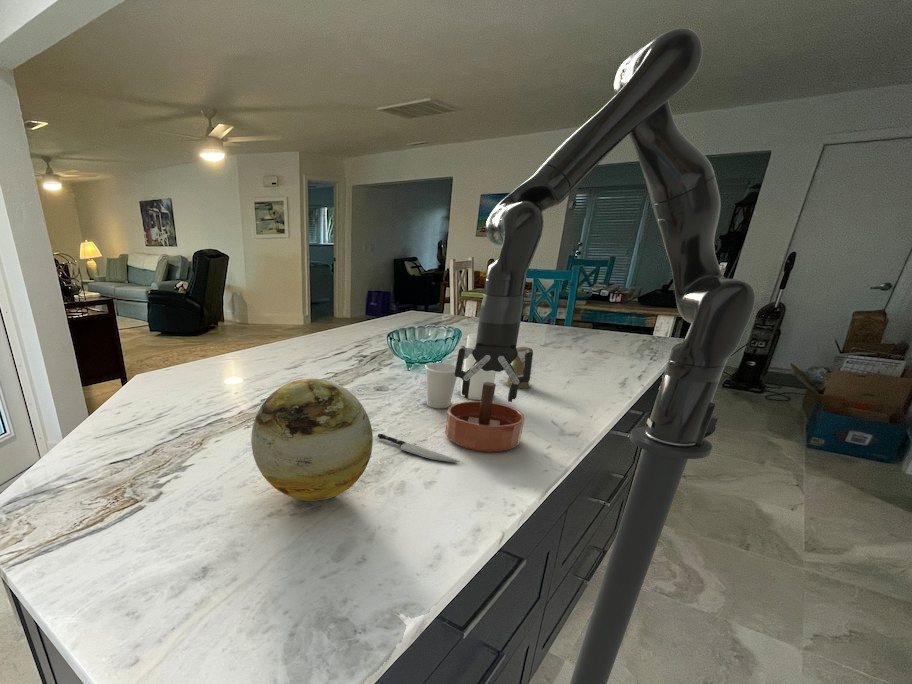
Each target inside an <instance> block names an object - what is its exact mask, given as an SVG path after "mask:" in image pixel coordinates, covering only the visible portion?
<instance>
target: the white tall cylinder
mask: <svg viewBox="0 0 912 684" xmlns="http://www.w3.org/2000/svg"><path fill="white" fill-rule="evenodd" d="M466 338H467V340H466V347H465V348H474V347H475V345H476V339H477V332H476V333H470V334H468V335H467V337H466ZM475 362H476V360H475V358H474V357H473V355H472V354H470V355H469V356H468V358H466V359H464V361H463V369H462V371H465V372H466V371H467V370H468V369H469V368H470V367H471V366H472V365H473V364H474V363H475ZM496 375H497V372H496V371H493V370H491V371H484V370H483V369H480V370H479V371H478V372H477V373H476V374H474V375H473V376H472V377H471V378H470V386H469V393H468V398H467V399H468V400H469V399H470V400H473V401H475V400H476V401H481V396H482V389H483V383H485V382H491V383H495V381H496ZM462 385H463V380H462V379H461V387H460V396H461V397H463V398H464V397H465V395H462Z"/></svg>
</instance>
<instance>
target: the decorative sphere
mask: <svg viewBox="0 0 912 684" xmlns="http://www.w3.org/2000/svg"><path fill="white" fill-rule="evenodd" d="M252 423H253V424H252V429H251V436H250V439H251V440H250V442H251V443H250V445H251V450H252V451H251V453H252V456H253V459H254V462H255V464H256V466H257V469H258V470H259V472H260V474H261V475H262V476H263V478H264V479H265V480H266V481H267V482H268V484H270V485H271V487H273V488H274V489H276V490H277V491H278V492H280V493H282V494H283V495H285V496H287V497H289V498H293V499H297V500H299V501H307V502H309V501H310V502H312V501H313V502H315V501H324V500H328V499H331V498H335V497H337V496H338V495H341V494H343V493H344V492H346V491H347V490H349V489H350V488H351V487H352V486H354V484H355V483H356V482H358V480H359V479H360V478H361V477H362V475H363V474H364V472H365V471H366V468H367V466H368V464H369V462H370V459H371V455H372V451H373V445H374V441H373V439H374V438H373V429H372V424H371V420H370V418H369V415H368V413H367V411H366V410H365V407H364V406H363V404H362V403H361V401H360V400H359V399H358V398H357V397H356V396H355V395H354V394H353V393H352V392H351V391H350V390H348V389H347V388H345V387H344V386H342V385H340V384H338V383H335V382H333V381H332V380H328V379H322V378H303V379H298V380H293V381H290V382H289V383H286V384H284V385H282V386H280V387H279V388H277V389H276V390H275V391H273V392H272V393H271V394H270V395H269V396H268V397H267V398H265V400H264V401H263V403H262V405H261V406H260V408H259V409H258V411H257V413H256V414H255V417H254V421H253V422H252Z"/></svg>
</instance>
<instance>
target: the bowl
mask: <svg viewBox="0 0 912 684" xmlns="http://www.w3.org/2000/svg"><path fill="white" fill-rule="evenodd" d="M480 403H481V400H476V401H475V400H473V401H472V400H471V401H462V402H461V401H460V402H457V403H454V404H452V405H450V406H449V407H447V413H446V420H445V429H444V430H445V431H444V434H445V436H446V438H447V439H449V440H450V441H452V442H453V443H454V444H456V445H457V446H460V447H461V448H464V449H468V450H472V451H477V452H487V453H495V452H504V451H507V450H511V449H513V448H515V447H517V446H519V444H520V443H521V441H522V437H523V436H522V434H523V430H524V426H525V414H523V412H521V411H520V410H518V409H516V408H514V407H513V406H509V405H506V404H502V403H497V402H493V405H492V411H491V418H490V419H491V420H499V421H500V426H490V425H481V424H475V423H471V422H468V419H469V417H474V418H478V416H479V409H480Z"/></svg>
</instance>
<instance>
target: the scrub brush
mask: <svg viewBox="0 0 912 684" xmlns="http://www.w3.org/2000/svg"><path fill="white" fill-rule="evenodd" d="M495 391H496V383H495V382H494V383H491V382H485V383H483V389H482V396H481V400H480V401H481V403H480V409H479V416H478V418H474V417H469V419H468V422H471V423H475V424H481V425H490V426H500V421H499V420H491V419H490V418H491V411H492V405H493V403H494V397H495Z"/></svg>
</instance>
